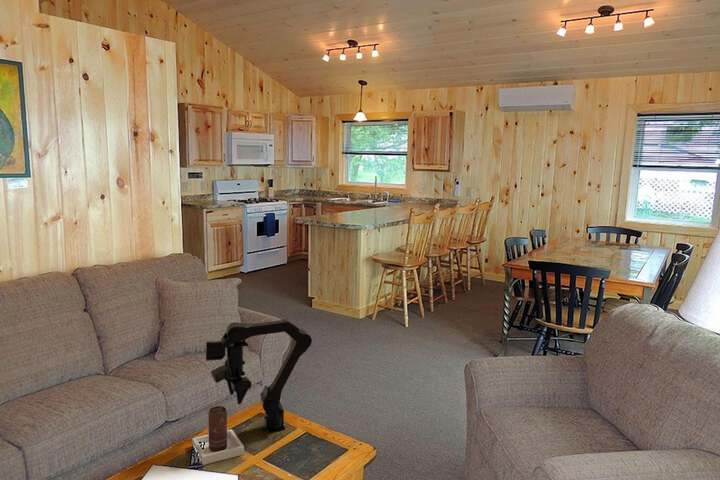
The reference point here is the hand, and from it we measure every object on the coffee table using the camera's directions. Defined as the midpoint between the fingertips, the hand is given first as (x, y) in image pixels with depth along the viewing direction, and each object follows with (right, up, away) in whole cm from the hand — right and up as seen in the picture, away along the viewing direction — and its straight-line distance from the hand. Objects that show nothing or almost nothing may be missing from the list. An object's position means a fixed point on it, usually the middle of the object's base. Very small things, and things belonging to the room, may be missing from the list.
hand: (235, 399), depth 192 cm
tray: (-3, -14, -11) cm, 18 cm away
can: (-3, -14, -11) cm, 18 cm away
